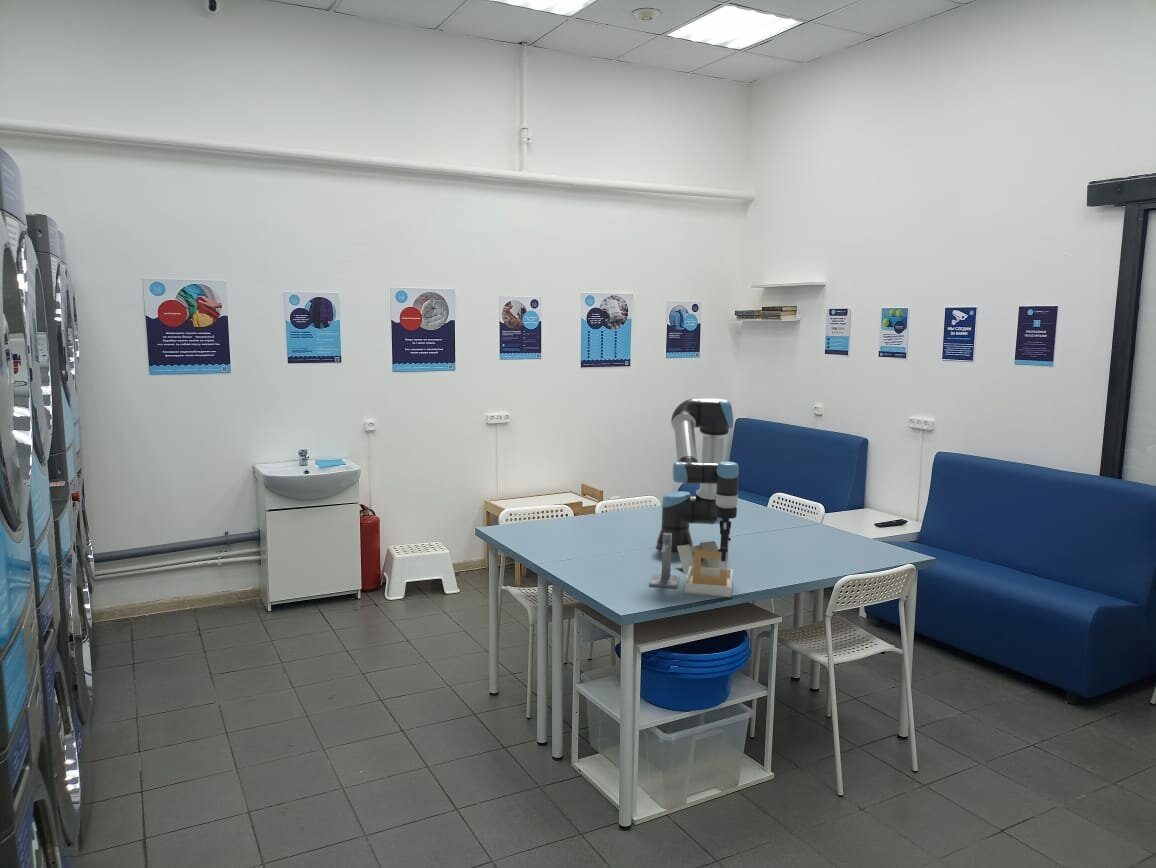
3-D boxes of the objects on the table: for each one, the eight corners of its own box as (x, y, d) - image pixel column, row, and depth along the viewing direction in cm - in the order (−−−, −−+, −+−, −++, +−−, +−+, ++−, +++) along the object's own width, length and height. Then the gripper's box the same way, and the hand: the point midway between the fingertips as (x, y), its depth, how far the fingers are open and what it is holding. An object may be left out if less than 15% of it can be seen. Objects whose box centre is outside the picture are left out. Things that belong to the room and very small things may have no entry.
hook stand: (652, 576, 302) (654, 531, 300) (679, 578, 300) (681, 533, 298) (647, 589, 287) (649, 542, 284) (676, 591, 285) (677, 544, 282)
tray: (689, 575, 304) (689, 566, 303) (732, 578, 301) (732, 569, 300) (684, 593, 283) (684, 583, 282) (731, 597, 279) (731, 587, 279)
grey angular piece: (725, 579, 313) (716, 546, 323) (727, 567, 307) (717, 534, 316) (683, 585, 313) (675, 553, 322) (684, 574, 306) (675, 541, 316)
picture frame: (692, 581, 294) (694, 549, 292) (726, 583, 292) (728, 551, 290) (692, 583, 292) (693, 550, 290) (726, 586, 289) (727, 553, 288)
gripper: (716, 497, 300) (714, 553, 303) (713, 513, 276) (711, 573, 279) (737, 499, 298) (735, 555, 301) (736, 514, 274) (733, 575, 277)
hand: (723, 564), depth 290 cm, fingers open, 13 cm apart
